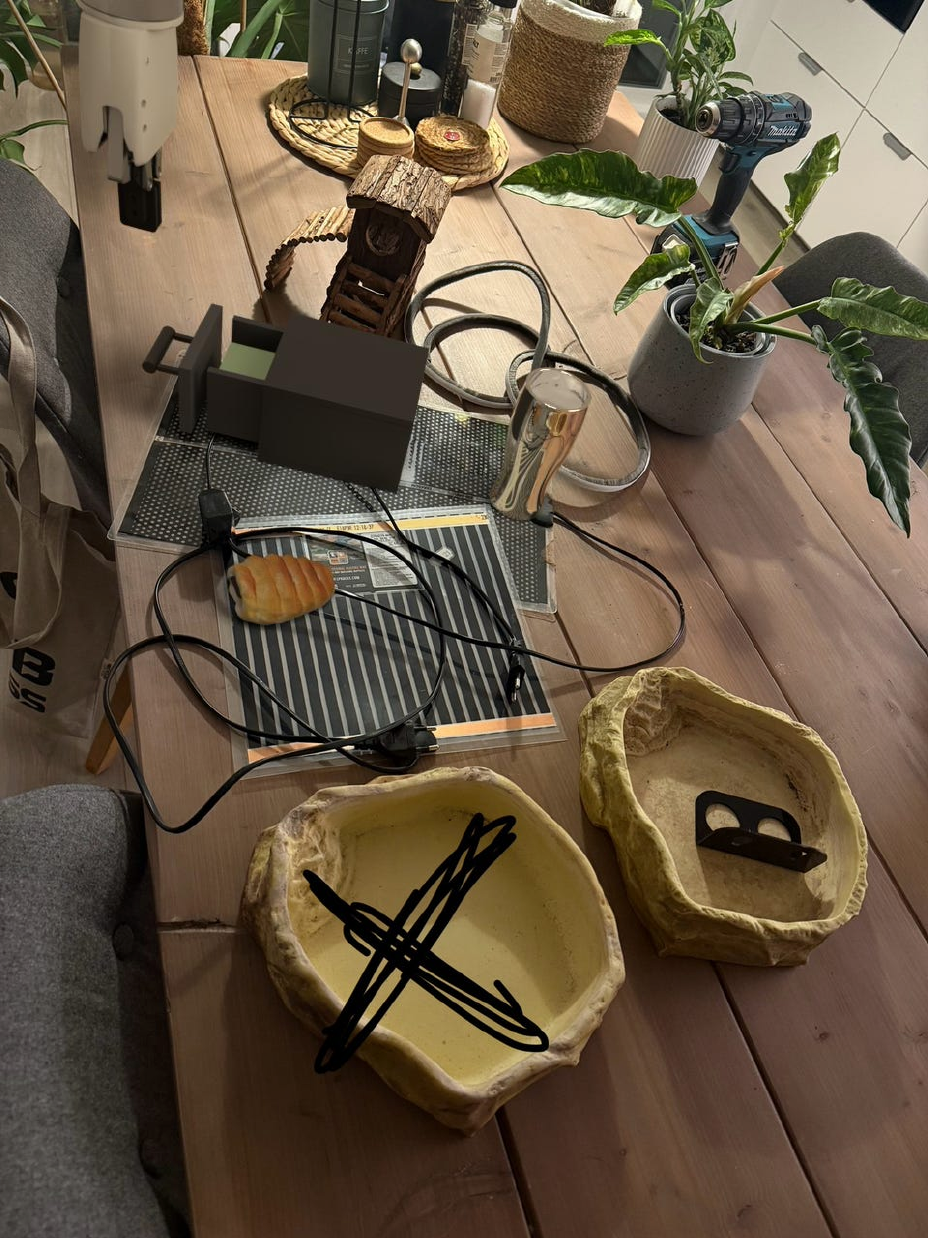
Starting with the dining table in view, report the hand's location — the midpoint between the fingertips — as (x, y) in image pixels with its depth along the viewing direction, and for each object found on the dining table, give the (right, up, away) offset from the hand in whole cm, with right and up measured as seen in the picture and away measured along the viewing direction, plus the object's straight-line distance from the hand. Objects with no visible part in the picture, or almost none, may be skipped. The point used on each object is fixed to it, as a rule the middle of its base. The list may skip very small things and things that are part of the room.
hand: (141, 224), depth 78 cm
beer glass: (+34, -23, +17) cm, 44 cm away
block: (+6, -12, +14) cm, 20 cm away
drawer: (+5, -13, +14) cm, 20 cm away
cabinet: (+15, -16, +17) cm, 27 cm away
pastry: (+12, -33, +1) cm, 35 cm away
